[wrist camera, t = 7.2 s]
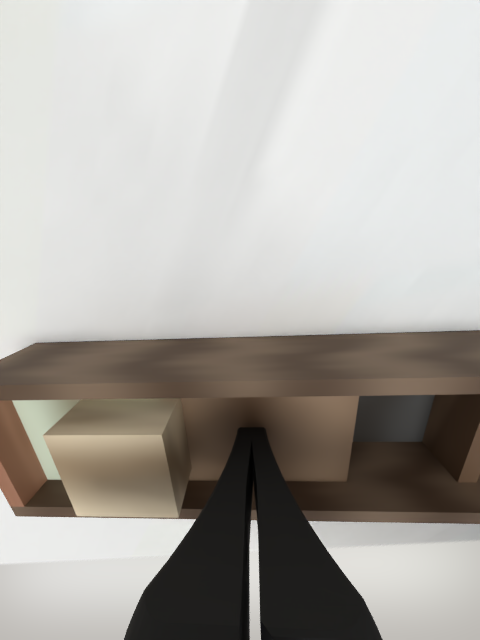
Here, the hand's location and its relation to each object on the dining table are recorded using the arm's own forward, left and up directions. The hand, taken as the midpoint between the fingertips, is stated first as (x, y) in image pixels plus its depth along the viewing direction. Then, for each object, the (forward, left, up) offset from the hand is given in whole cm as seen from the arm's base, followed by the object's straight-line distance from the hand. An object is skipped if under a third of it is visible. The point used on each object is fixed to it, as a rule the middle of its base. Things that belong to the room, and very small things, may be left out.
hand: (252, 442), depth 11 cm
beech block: (0, +6, -1) cm, 6 cm away
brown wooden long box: (0, -3, -3) cm, 5 cm away
